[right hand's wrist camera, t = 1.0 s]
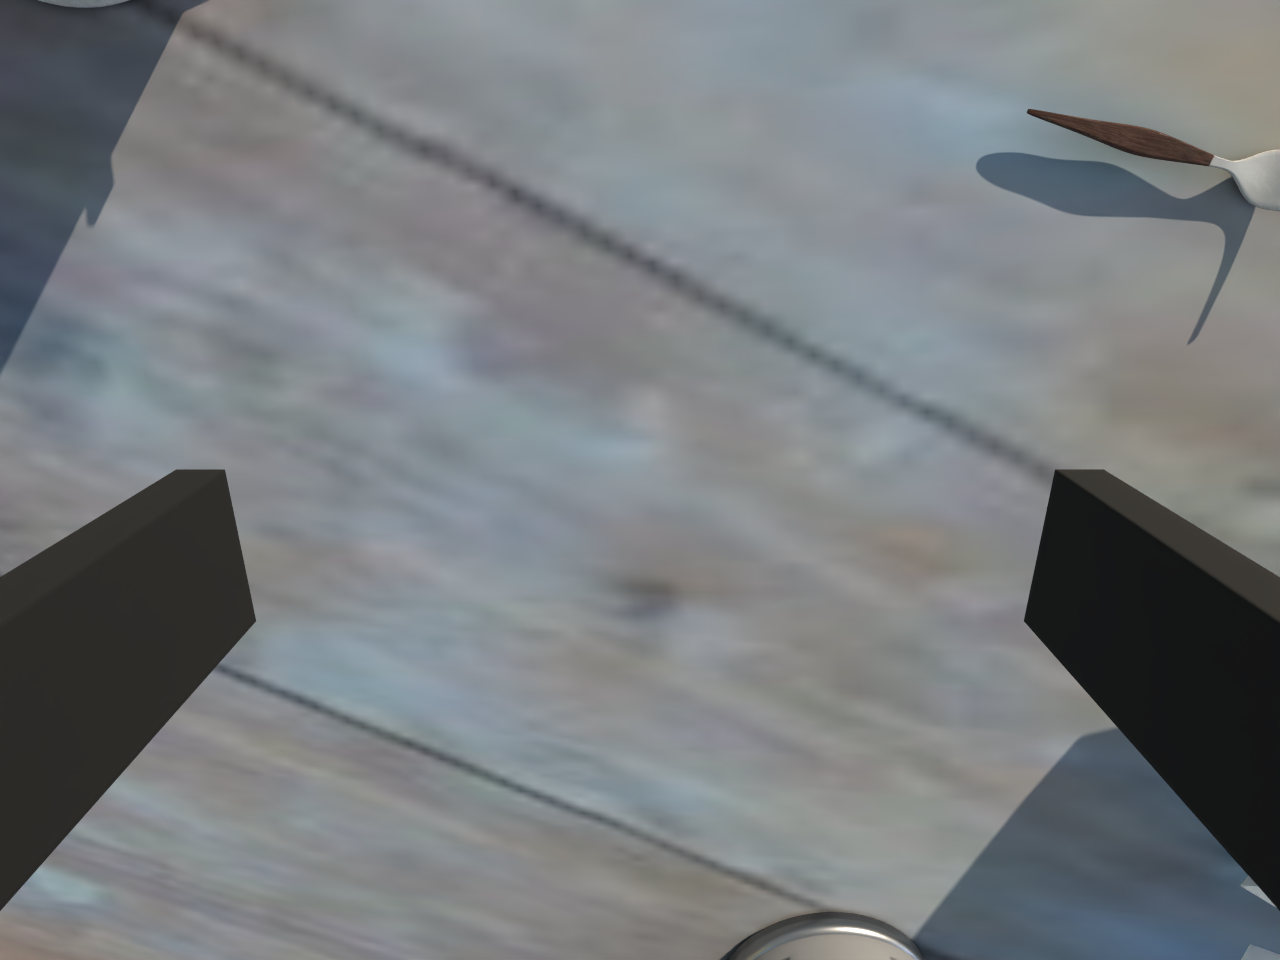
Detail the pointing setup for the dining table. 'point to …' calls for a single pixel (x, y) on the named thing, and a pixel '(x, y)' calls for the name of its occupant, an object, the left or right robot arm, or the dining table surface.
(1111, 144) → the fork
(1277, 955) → the white plastic object
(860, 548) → the dining table surface
